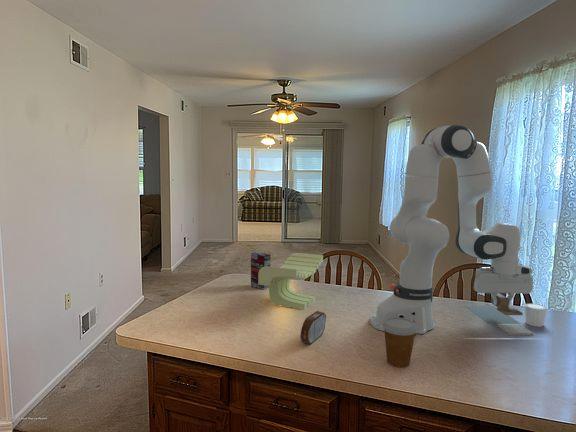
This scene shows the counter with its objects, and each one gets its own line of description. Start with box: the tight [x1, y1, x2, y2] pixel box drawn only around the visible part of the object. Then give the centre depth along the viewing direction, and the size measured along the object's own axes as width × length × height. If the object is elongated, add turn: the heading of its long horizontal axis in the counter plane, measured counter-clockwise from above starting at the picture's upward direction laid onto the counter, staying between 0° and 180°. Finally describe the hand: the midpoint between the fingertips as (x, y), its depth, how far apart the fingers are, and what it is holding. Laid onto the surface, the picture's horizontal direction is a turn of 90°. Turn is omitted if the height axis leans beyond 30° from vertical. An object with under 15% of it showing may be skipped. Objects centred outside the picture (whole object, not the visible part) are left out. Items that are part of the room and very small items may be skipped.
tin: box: [300, 310, 327, 345], centre depth 141 cm, size 15×3×8 cm, turn 152°
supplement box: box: [250, 251, 272, 290], centre depth 201 cm, size 9×5×16 cm, turn 50°
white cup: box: [524, 303, 548, 327], centre depth 157 cm, size 7×7×7 cm
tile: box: [497, 323, 534, 336], centre depth 150 cm, size 8×2×8 cm
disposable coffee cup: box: [383, 317, 417, 368], centre depth 124 cm, size 10×10×12 cm
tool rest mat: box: [464, 305, 522, 325], centre depth 167 cm, size 12×20×1 cm, turn 1°
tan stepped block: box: [490, 293, 524, 316], centre depth 157 cm, size 14×6×4 cm, turn 1°
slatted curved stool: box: [258, 252, 324, 310], centre depth 179 cm, size 30×16×18 cm, turn 156°
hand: (501, 304), depth 159 cm, fingers closed on tan stepped block, 2 cm apart
